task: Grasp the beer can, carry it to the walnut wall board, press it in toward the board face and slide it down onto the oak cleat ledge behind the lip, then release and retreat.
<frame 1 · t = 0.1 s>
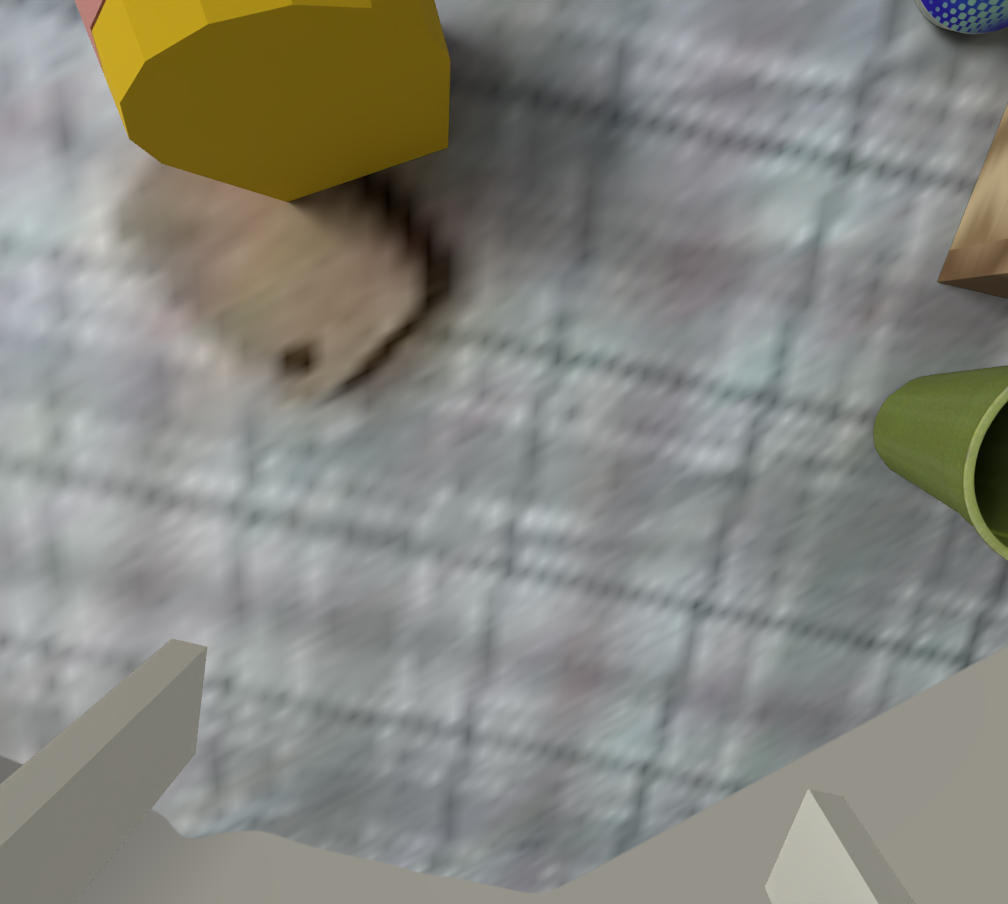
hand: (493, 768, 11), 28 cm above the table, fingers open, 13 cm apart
plant pot: (923, 424, 37), on the table
alarm clock: (346, 110, 34), on the table
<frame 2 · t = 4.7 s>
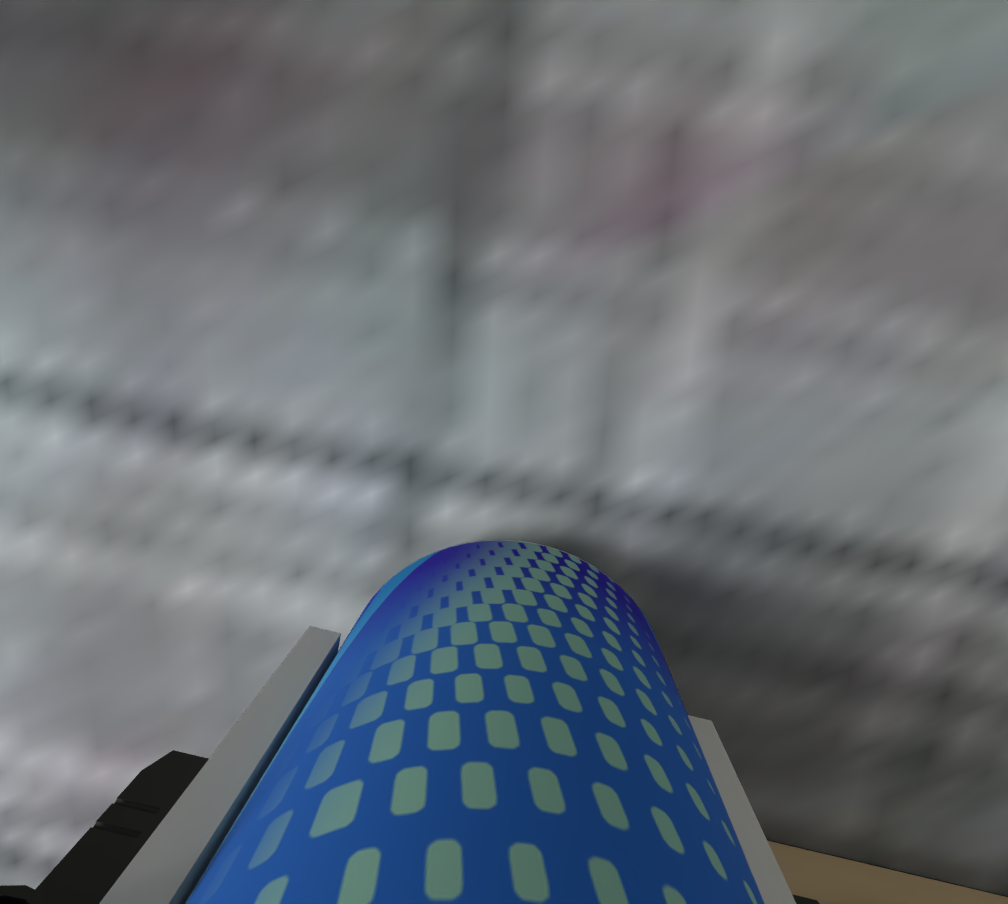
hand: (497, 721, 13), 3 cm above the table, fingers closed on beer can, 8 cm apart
beer can: (505, 655, 15), on the table, touching gripper
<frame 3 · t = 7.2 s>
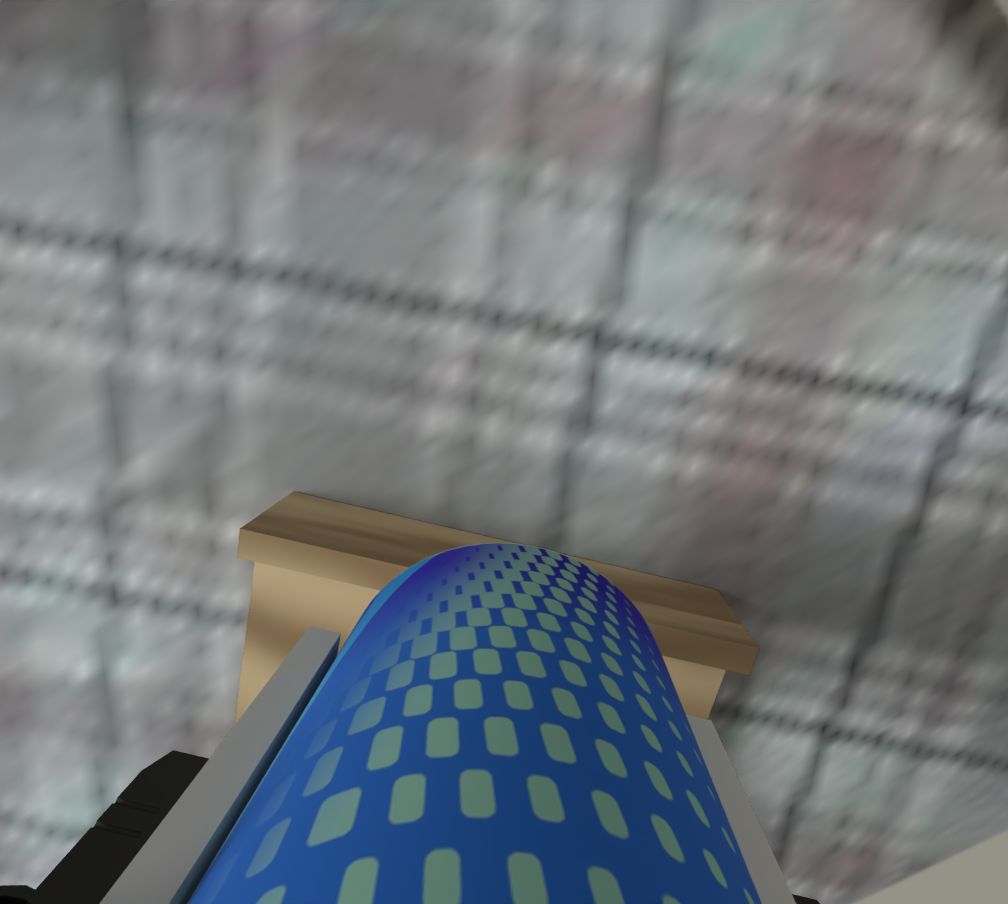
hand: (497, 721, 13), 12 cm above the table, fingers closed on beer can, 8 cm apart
cleat board: (453, 753, 27), on the table
beer can: (505, 658, 15), point 9 cm above the table, touching gripper
when the fingers open (6 cm above the table, at t = 10.2 s): beer can stays where it is, resting on cleat board.
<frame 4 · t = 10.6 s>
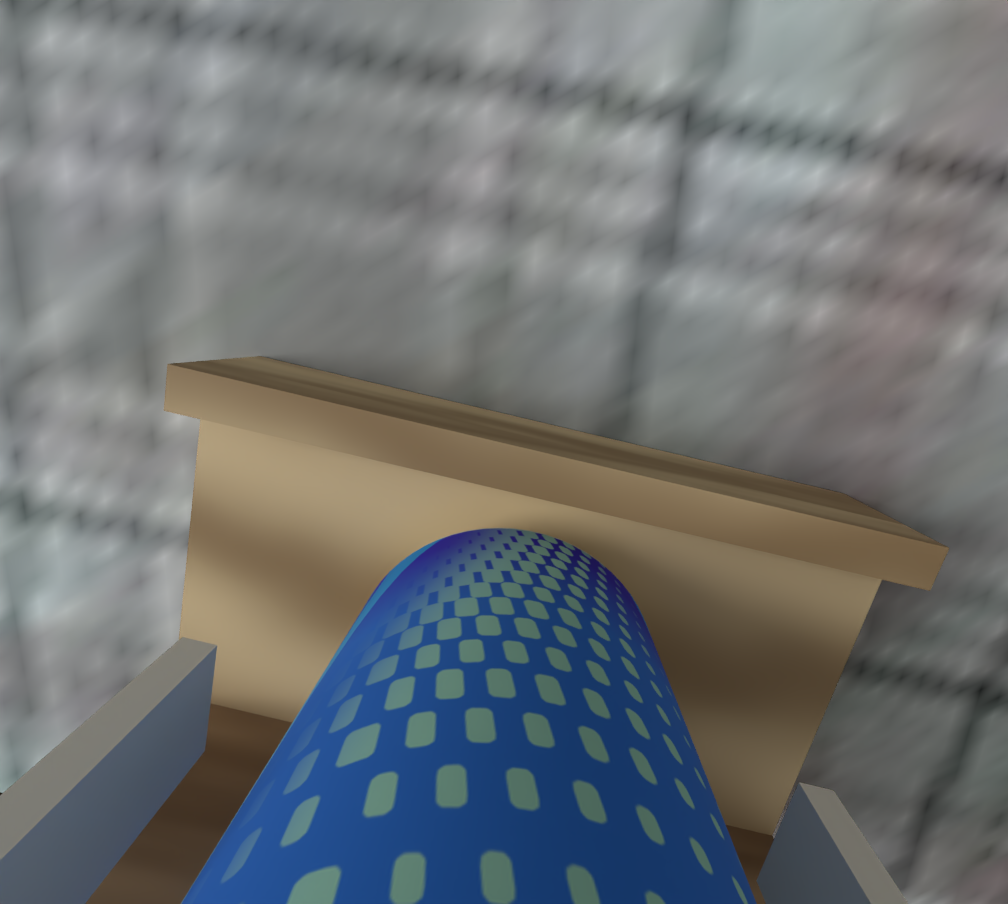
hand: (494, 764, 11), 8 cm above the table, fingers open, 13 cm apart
cleat board: (475, 724, 20), on the table
beer can: (504, 638, 16), point 3 cm above the table, touching cleat board
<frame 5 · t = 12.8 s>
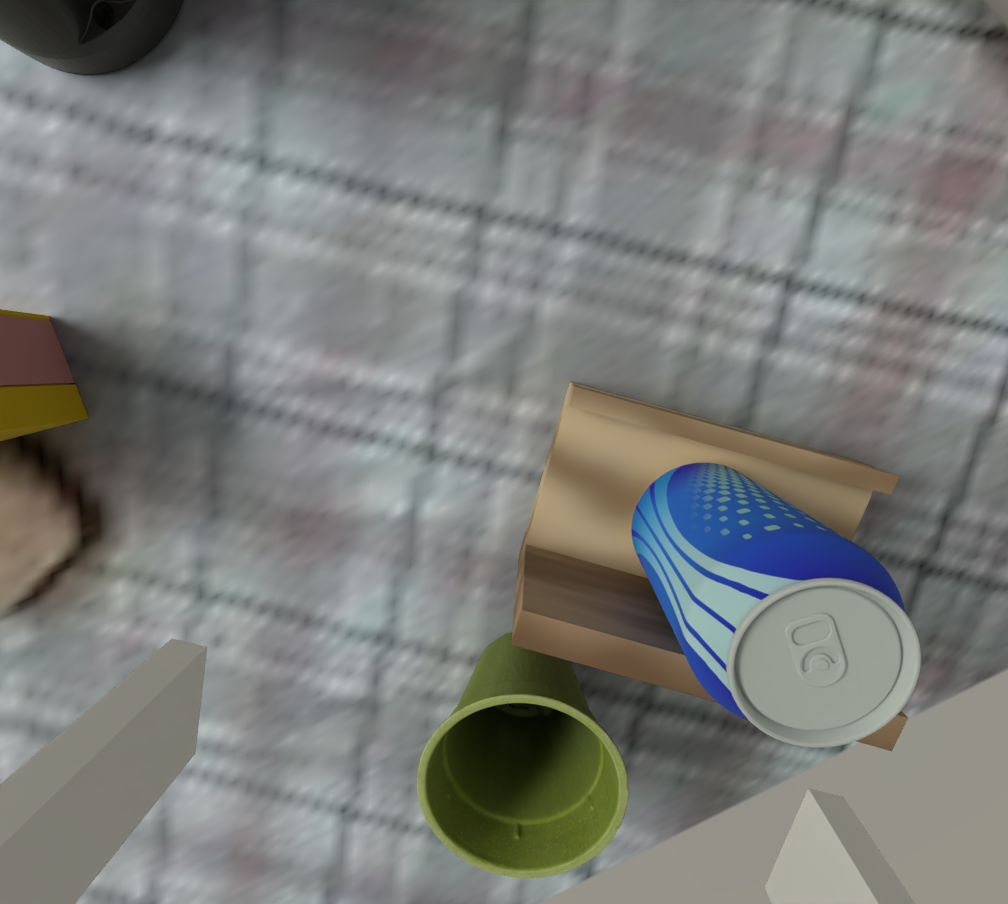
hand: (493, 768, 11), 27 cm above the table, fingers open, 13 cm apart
cleat board: (655, 578, 38), on the table
plant pot: (525, 668, 41), on the table
beer can: (692, 520, 35), point 3 cm above the table, touching cleat board
alarm clock: (1, 381, 39), on the table
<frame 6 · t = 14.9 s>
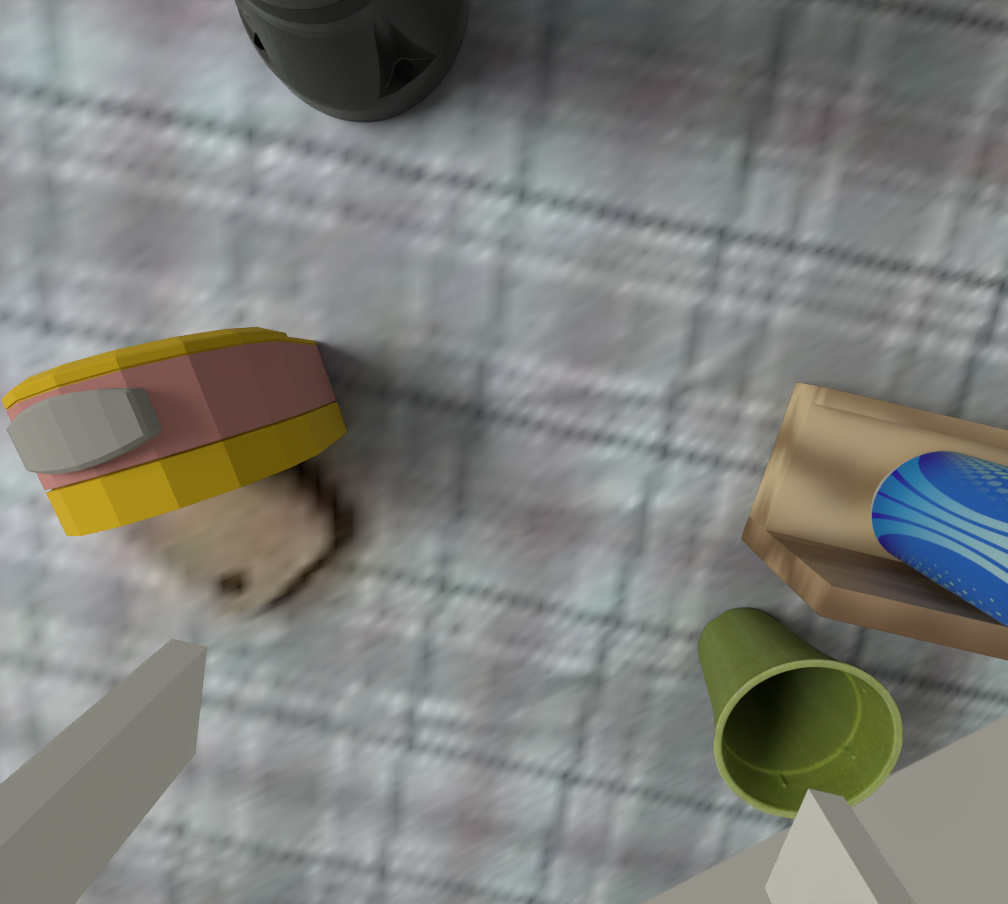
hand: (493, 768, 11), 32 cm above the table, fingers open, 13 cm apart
cleat board: (865, 556, 43), on the table
plant pot: (740, 642, 45), on the table
beer can: (918, 502, 39), point 3 cm above the table, touching cleat board
alarm clock: (265, 401, 43), on the table
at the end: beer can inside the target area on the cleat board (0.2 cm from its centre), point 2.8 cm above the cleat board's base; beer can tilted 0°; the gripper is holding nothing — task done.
